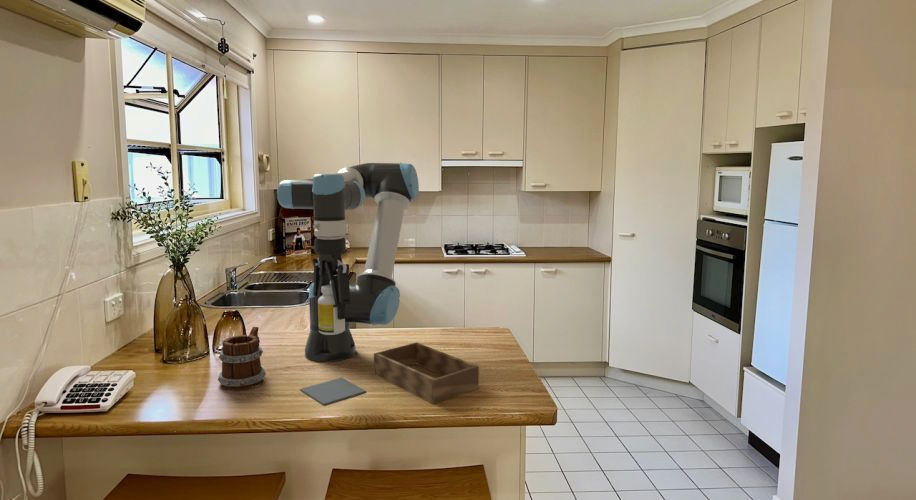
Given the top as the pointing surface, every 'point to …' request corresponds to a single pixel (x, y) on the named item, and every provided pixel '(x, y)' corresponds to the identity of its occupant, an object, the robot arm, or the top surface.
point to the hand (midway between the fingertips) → (332, 328)
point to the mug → (241, 362)
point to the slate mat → (332, 391)
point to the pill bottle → (326, 311)
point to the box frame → (434, 390)
